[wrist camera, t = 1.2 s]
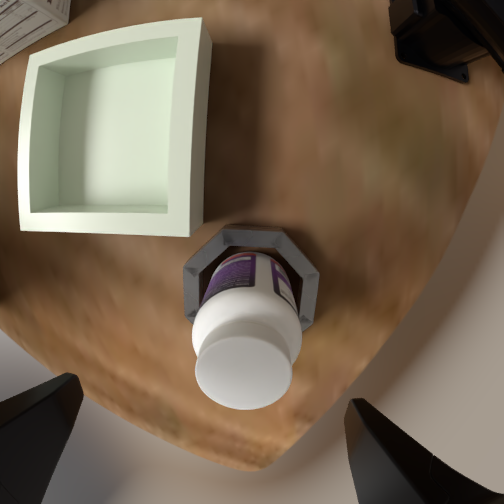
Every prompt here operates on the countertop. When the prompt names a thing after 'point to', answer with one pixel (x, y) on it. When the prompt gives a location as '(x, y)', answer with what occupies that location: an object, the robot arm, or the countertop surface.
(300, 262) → the collar
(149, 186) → the bin
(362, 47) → the countertop surface
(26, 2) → the supplement box
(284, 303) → the pill bottle
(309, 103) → the countertop surface
